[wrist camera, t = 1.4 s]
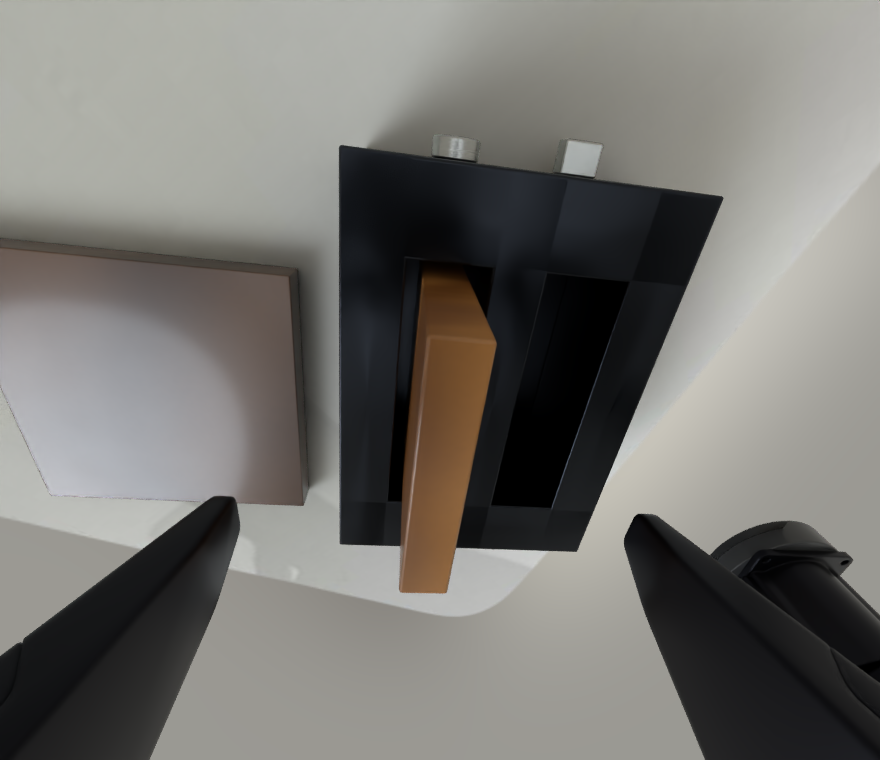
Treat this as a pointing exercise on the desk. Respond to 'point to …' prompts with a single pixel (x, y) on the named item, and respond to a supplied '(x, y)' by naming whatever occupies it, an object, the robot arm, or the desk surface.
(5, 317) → the board
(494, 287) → the toaster
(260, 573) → the desk surface
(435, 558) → the toast
